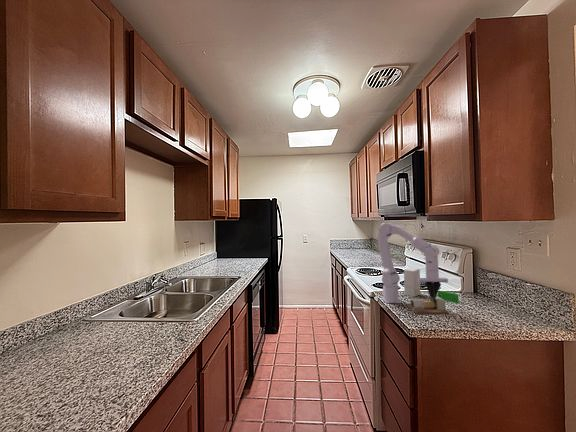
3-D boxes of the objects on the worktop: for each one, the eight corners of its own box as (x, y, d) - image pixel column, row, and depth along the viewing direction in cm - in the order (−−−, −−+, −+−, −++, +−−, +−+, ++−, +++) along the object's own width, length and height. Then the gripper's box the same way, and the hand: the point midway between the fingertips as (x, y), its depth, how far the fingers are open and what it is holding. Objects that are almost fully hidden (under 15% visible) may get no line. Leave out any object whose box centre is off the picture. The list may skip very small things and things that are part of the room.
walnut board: (406, 306, 144) (406, 304, 144) (435, 305, 144) (435, 304, 144) (416, 314, 132) (416, 311, 132) (448, 313, 132) (448, 311, 132)
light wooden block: (421, 305, 140) (420, 292, 140) (437, 305, 139) (436, 291, 139) (423, 307, 137) (423, 293, 137) (440, 307, 136) (439, 293, 136)
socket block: (431, 305, 141) (431, 296, 141) (438, 305, 141) (437, 296, 141) (438, 309, 134) (437, 300, 134) (445, 309, 134) (445, 300, 134)
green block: (461, 302, 149) (461, 294, 149) (457, 303, 148) (457, 295, 148) (442, 297, 159) (441, 289, 159) (437, 298, 158) (437, 290, 158)
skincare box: (410, 292, 171) (409, 267, 171) (421, 294, 166) (420, 268, 166) (403, 295, 166) (403, 269, 166) (414, 297, 161) (413, 270, 161)
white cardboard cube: (410, 306, 140) (410, 298, 140) (420, 306, 140) (420, 298, 140) (414, 309, 136) (413, 301, 136) (424, 309, 136) (424, 301, 136)
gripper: (420, 271, 134) (421, 299, 134) (451, 271, 134) (452, 299, 134) (414, 269, 142) (415, 295, 141) (443, 268, 141) (444, 295, 141)
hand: (432, 296), depth 138 cm, fingers closed on light wooden block
